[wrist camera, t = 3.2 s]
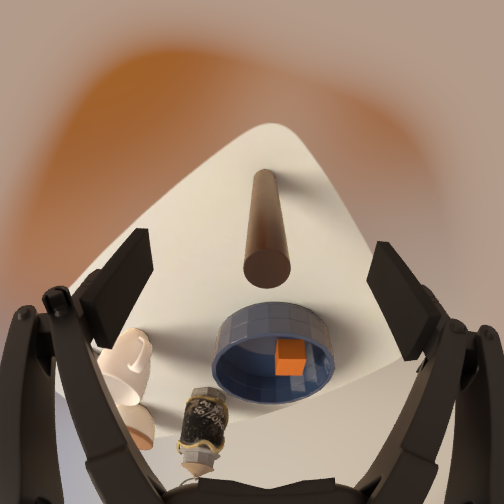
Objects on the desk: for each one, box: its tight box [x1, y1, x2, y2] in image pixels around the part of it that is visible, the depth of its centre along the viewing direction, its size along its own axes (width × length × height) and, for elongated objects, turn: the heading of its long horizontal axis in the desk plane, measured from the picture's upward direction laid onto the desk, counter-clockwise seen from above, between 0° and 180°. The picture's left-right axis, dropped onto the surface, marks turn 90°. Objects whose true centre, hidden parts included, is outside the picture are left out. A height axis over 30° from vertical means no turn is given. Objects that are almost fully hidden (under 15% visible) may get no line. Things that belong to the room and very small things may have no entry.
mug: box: [97, 328, 153, 406], centre depth 37 cm, size 12×8×11 cm
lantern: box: [177, 387, 228, 486], centre depth 40 cm, size 9×8×25 cm
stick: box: [243, 169, 291, 289], centre depth 22 cm, size 2×2×18 cm
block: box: [275, 339, 307, 376], centre depth 40 cm, size 4×4×4 cm
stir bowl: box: [212, 302, 335, 404], centre depth 40 cm, size 17×17×6 cm
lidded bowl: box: [116, 404, 155, 450], centre depth 52 cm, size 13×13×11 cm
